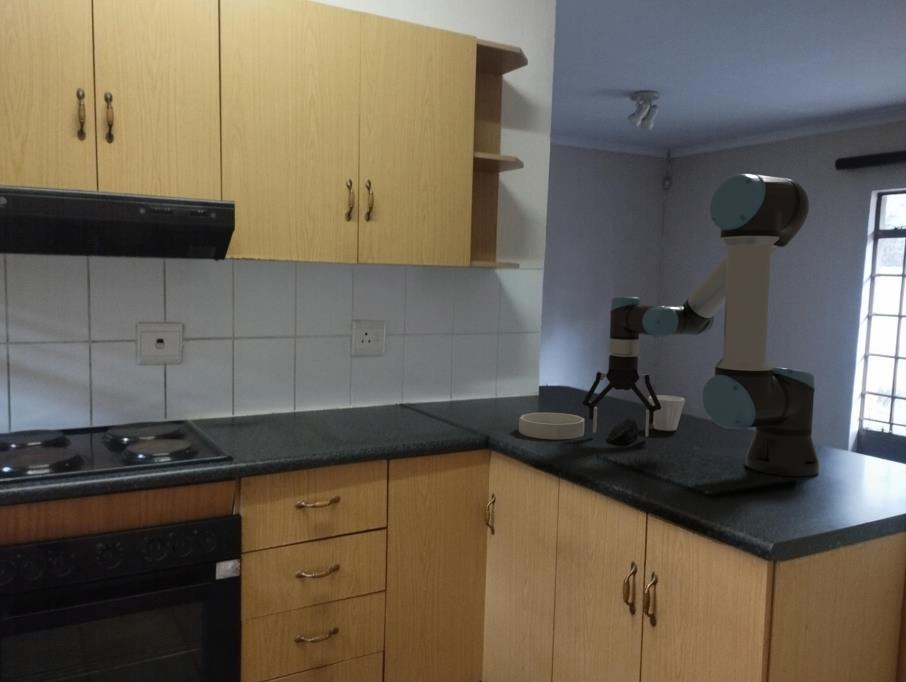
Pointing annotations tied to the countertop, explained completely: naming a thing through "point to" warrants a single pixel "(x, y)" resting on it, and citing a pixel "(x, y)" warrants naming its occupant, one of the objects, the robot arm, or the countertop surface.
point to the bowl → (551, 425)
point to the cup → (667, 412)
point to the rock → (624, 432)
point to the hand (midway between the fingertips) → (620, 433)
